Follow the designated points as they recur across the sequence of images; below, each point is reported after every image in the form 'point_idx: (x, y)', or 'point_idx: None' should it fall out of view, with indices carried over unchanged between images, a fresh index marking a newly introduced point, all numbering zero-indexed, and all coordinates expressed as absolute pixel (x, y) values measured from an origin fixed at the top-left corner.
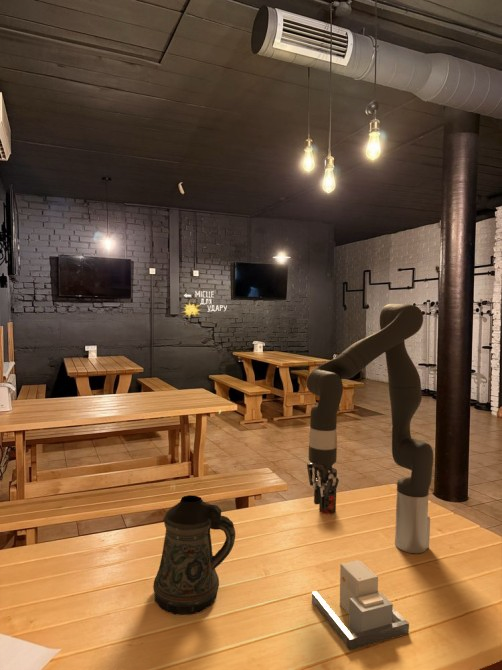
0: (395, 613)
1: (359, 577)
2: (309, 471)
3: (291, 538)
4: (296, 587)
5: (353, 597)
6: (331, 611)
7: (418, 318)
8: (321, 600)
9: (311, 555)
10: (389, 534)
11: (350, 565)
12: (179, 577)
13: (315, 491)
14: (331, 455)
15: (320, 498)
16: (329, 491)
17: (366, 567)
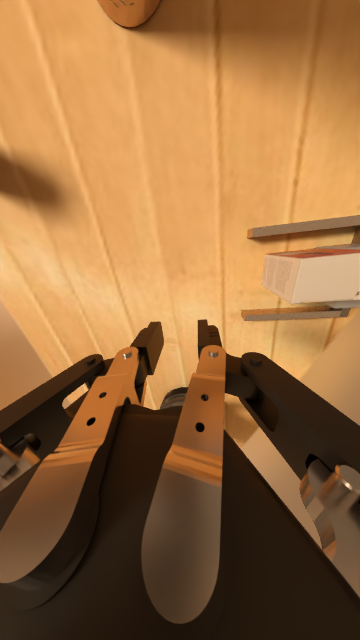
0: (354, 222)
1: (353, 291)
2: (42, 457)
3: (94, 284)
4: (208, 321)
5: (337, 301)
6: (290, 314)
7: None
8: (265, 317)
9: (142, 273)
10: (63, 6)
11: (309, 289)
12: None
13: (151, 374)
14: None
15: (156, 335)
16: (242, 380)
17: (337, 258)
